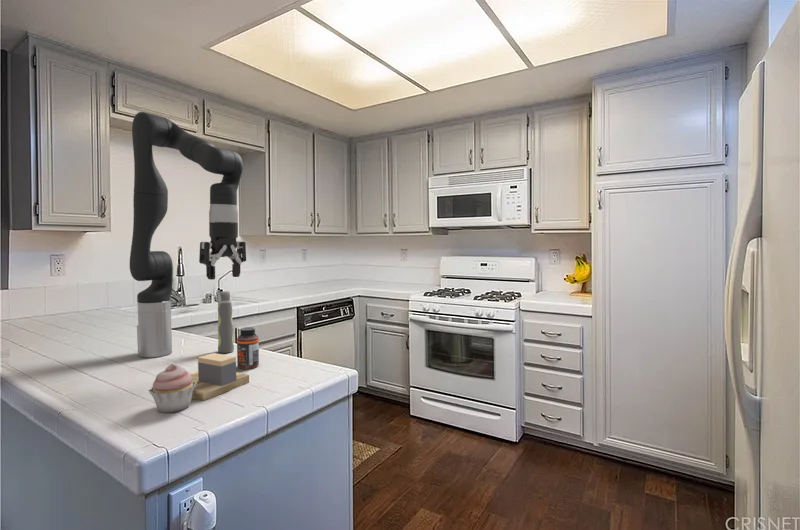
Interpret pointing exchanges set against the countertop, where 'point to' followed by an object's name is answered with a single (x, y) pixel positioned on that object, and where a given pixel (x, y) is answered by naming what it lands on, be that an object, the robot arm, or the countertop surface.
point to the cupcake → (172, 389)
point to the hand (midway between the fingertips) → (224, 278)
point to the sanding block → (217, 369)
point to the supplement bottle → (247, 349)
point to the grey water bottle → (225, 323)
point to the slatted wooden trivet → (215, 386)
